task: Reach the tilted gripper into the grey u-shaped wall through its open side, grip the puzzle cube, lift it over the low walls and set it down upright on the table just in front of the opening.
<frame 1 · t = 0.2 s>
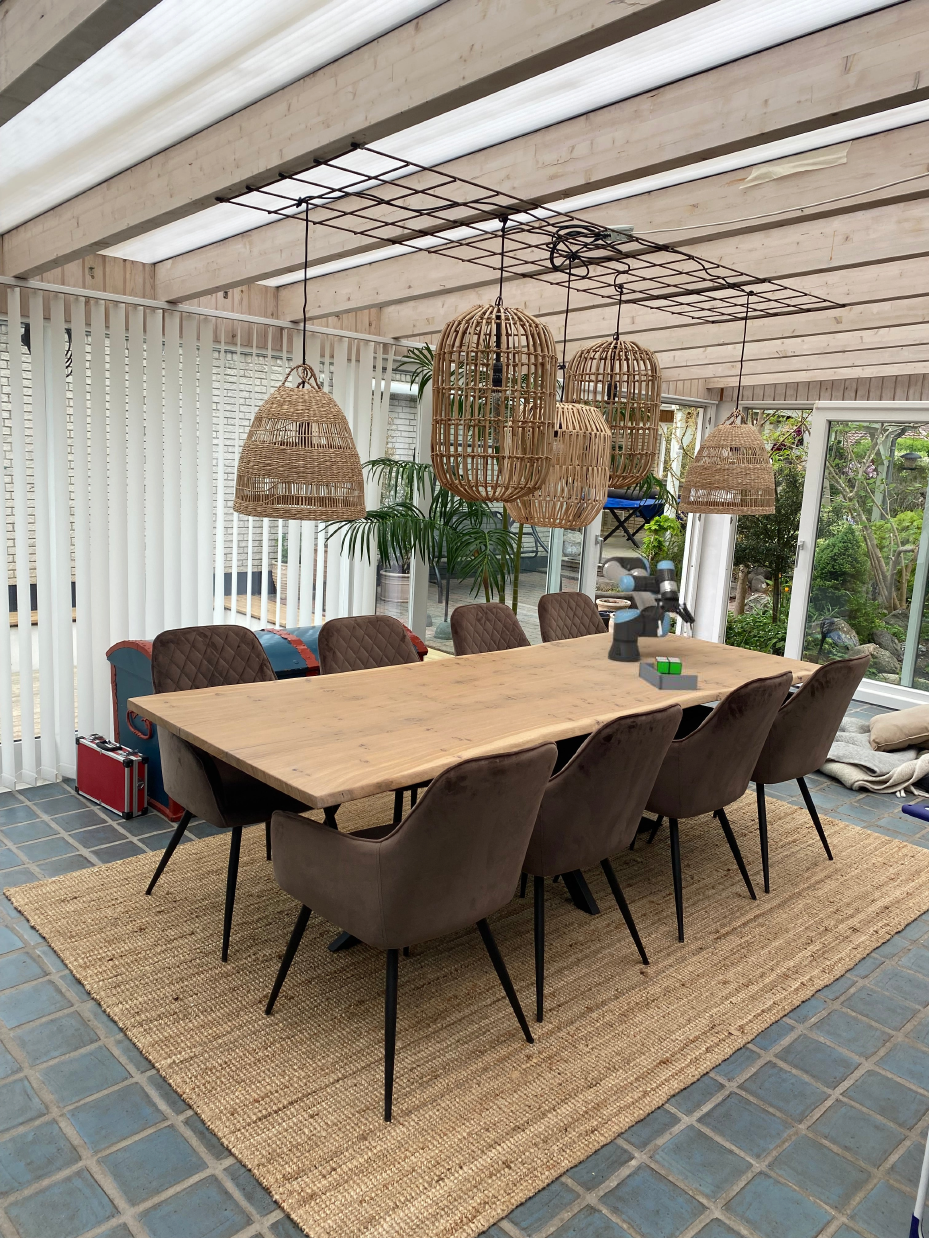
hand: (674, 636, 391), 16 cm above the table, tool tilted 35°, fingers open, 13 cm apart
puzzle cube: (666, 683, 370), on the table
grey u-shaped wall: (666, 682, 370), on the table
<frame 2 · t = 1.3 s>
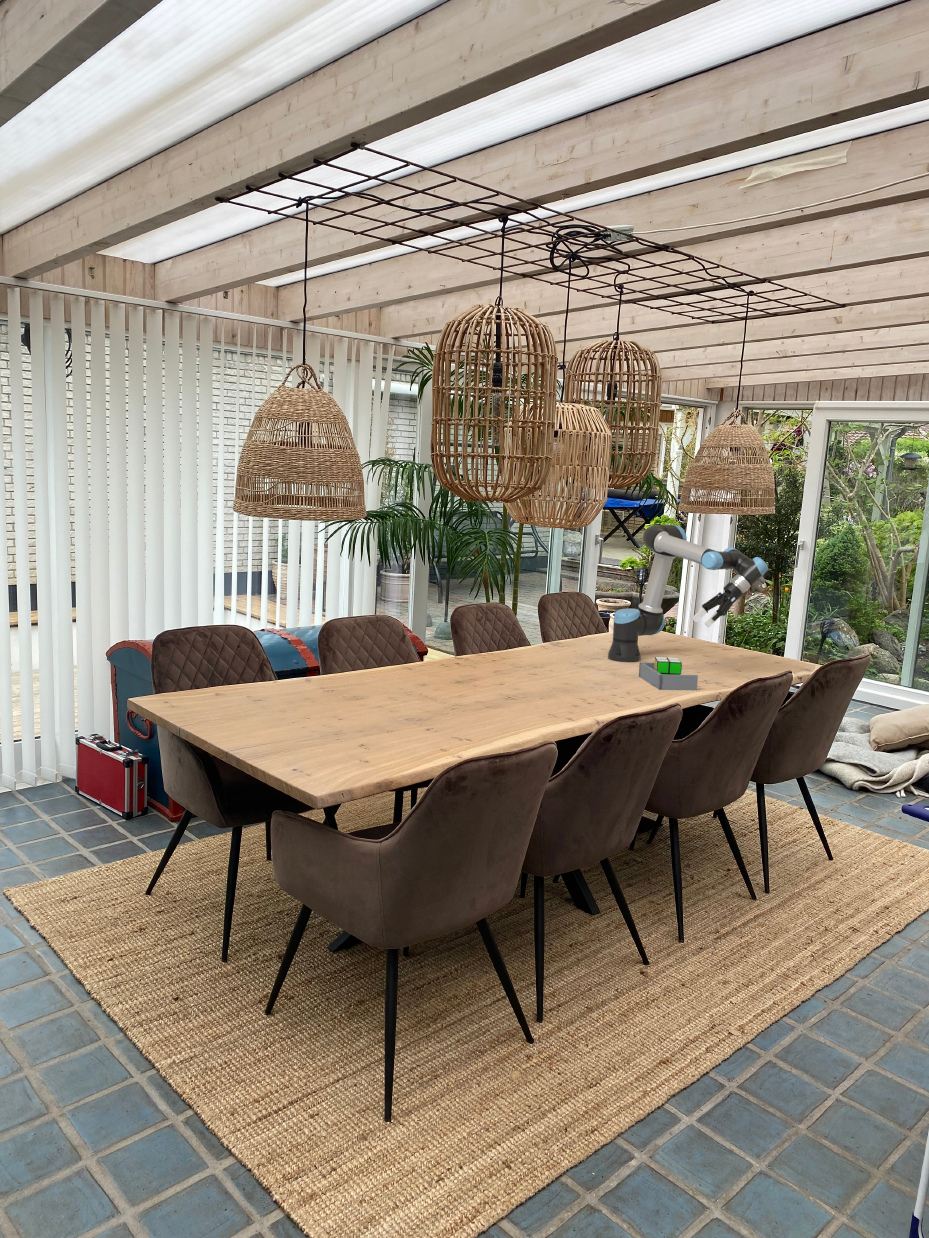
hand: (699, 622, 374), 25 cm above the table, tool tilted 45°, fingers open, 13 cm apart
nothing on the table moved.
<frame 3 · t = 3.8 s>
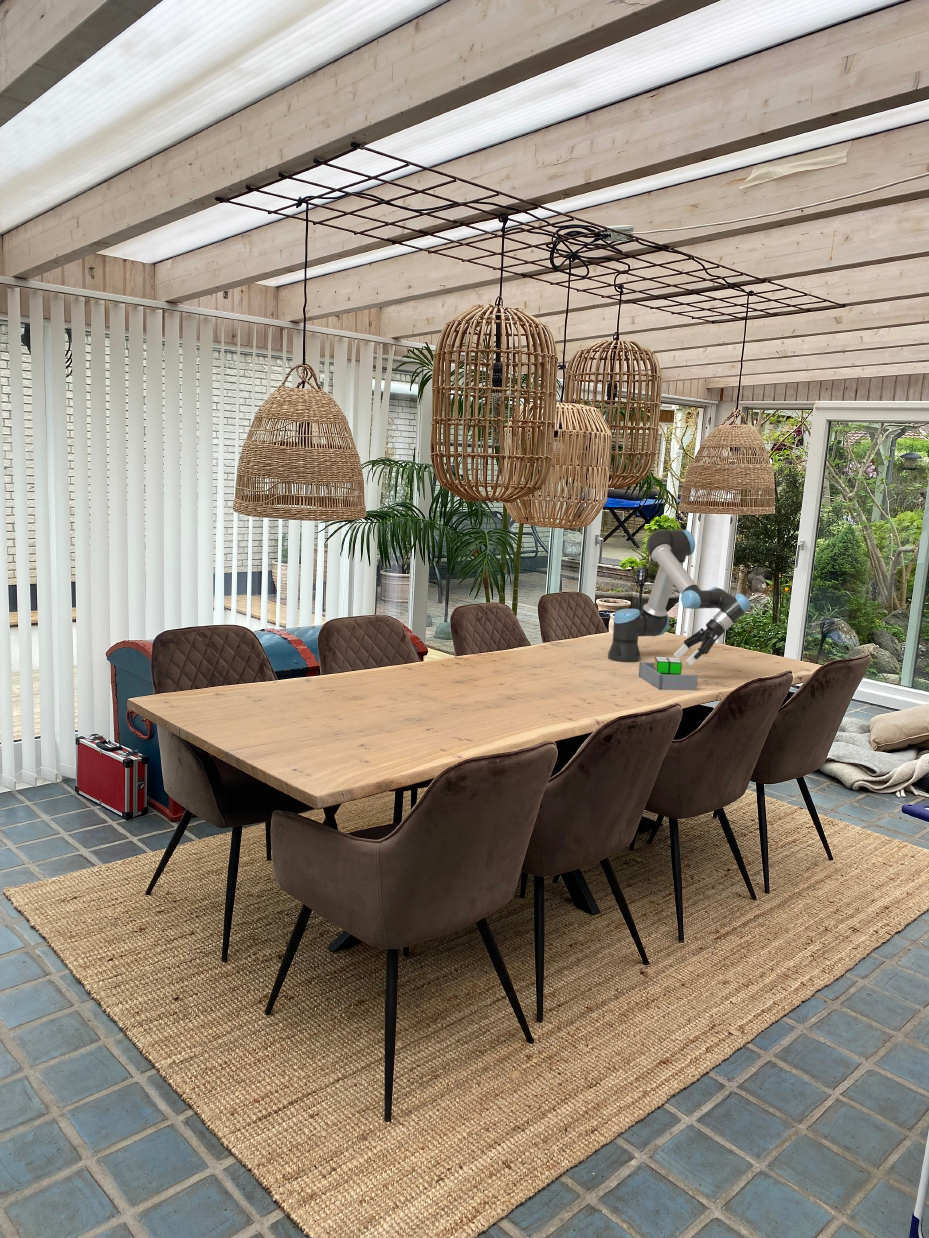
hand: (681, 660, 368), 10 cm above the table, tool tilted 45°, fingers open, 13 cm apart
nothing on the table moved.
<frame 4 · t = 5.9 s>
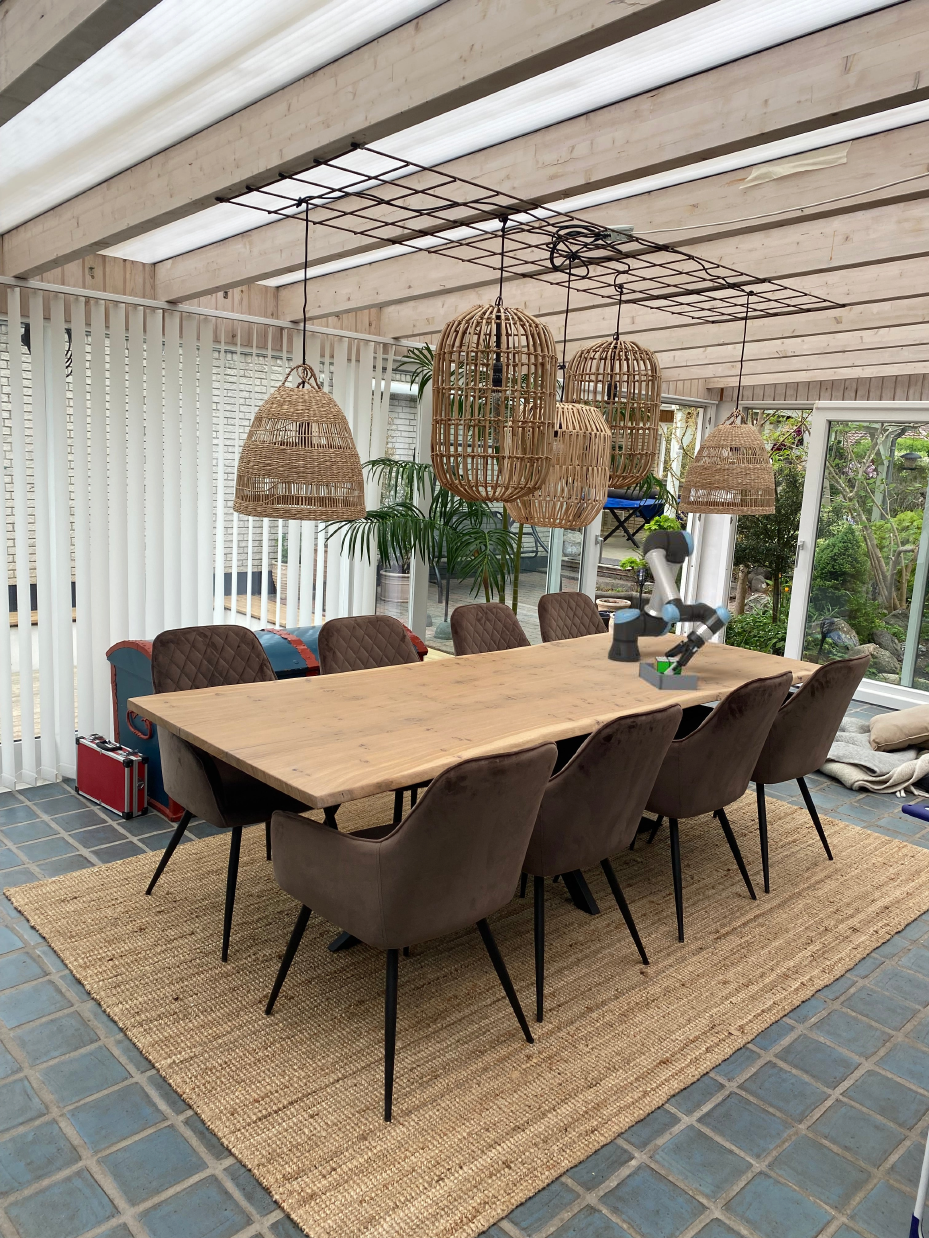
hand: (661, 672, 369), 4 cm above the table, tool tilted 45°, fingers closed on puzzle cube, 12 cm apart
puzzle cube: (666, 683, 370), on the table, touching gripper
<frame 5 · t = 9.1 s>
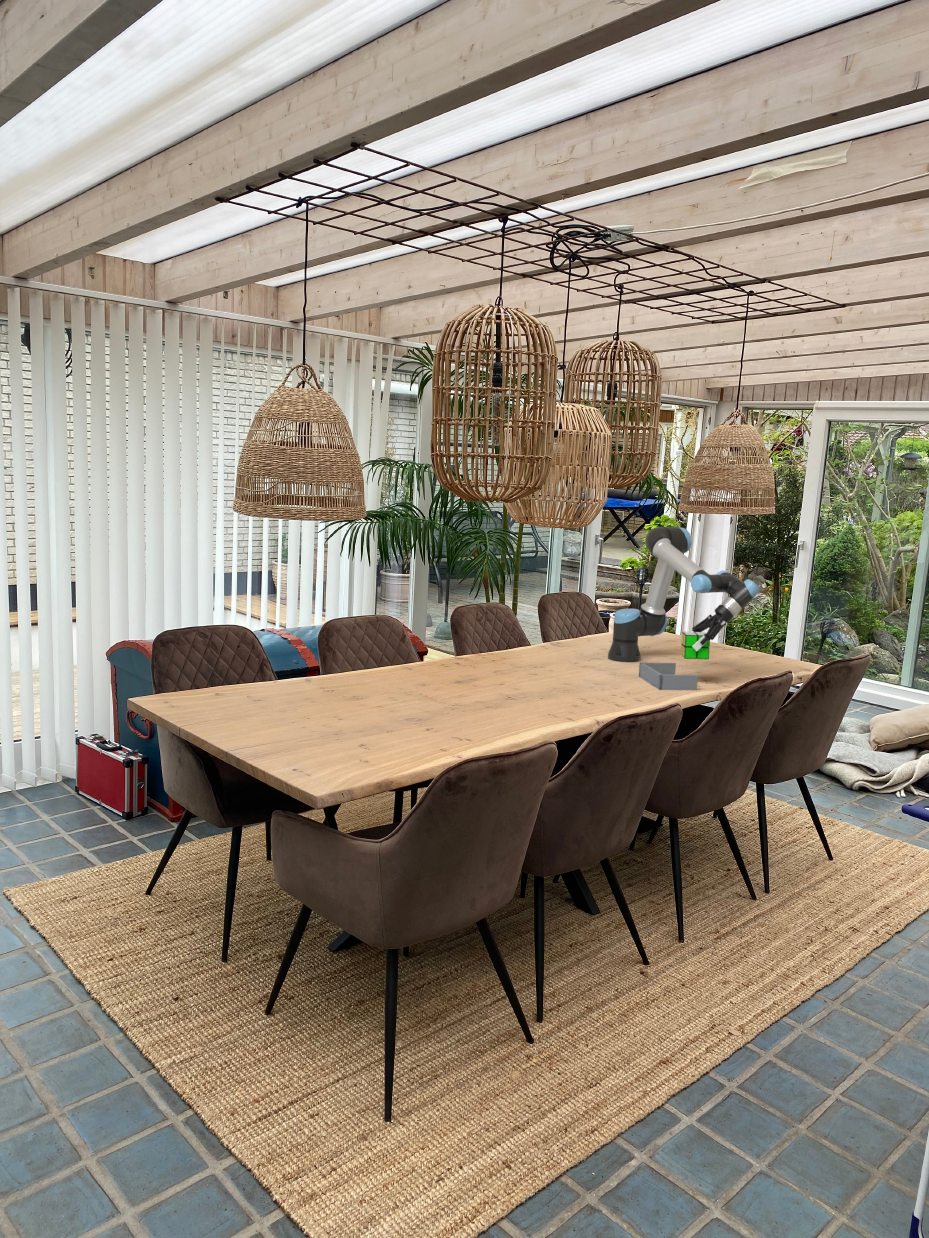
hand: (689, 646, 371), 15 cm above the table, tool tilted 45°, fingers closed on puzzle cube, 11 cm apart
puzzle cube: (694, 657, 372), point 10 cm above the table, touching gripper
when the fingers open (6 cm above the table, at t = 12.4 s): puzzle cube drops 1 cm, on the table.
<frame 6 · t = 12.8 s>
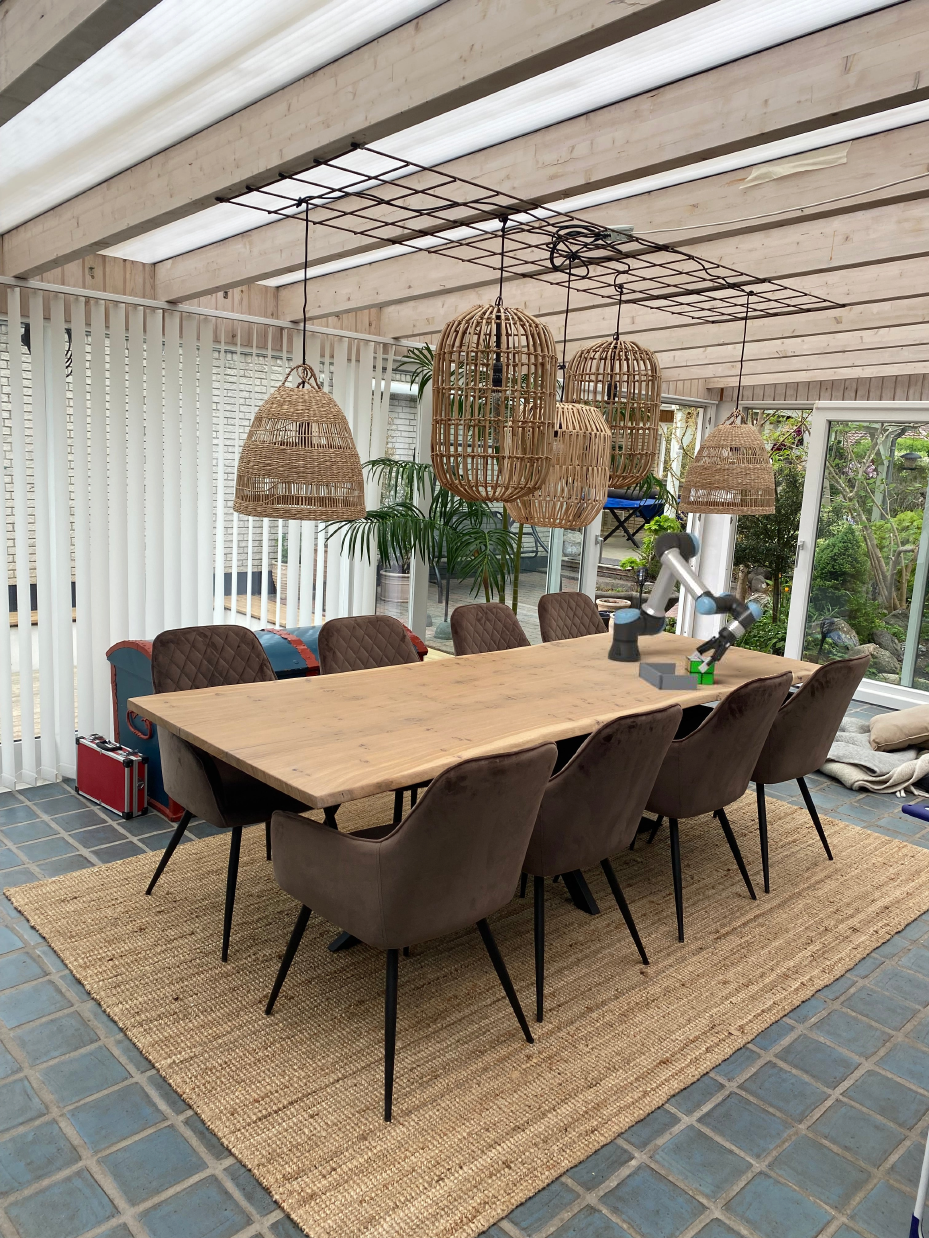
hand: (693, 667, 374), 6 cm above the table, tool tilted 45°, fingers open, 13 cm apart
puzzle cube: (698, 682, 374), on the table
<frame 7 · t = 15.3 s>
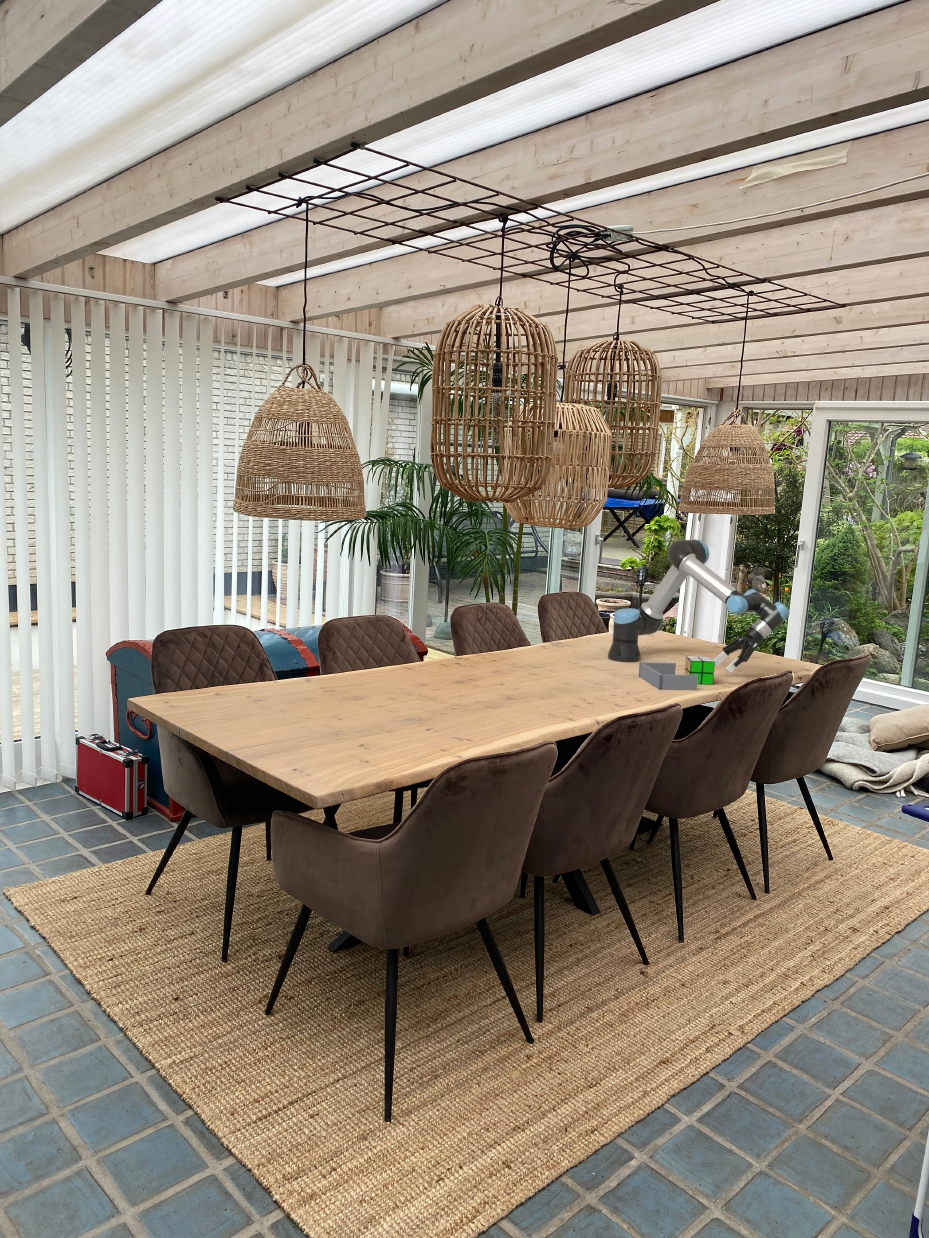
hand: (721, 667, 375), 6 cm above the table, tool tilted 45°, fingers open, 13 cm apart
nothing on the table moved.
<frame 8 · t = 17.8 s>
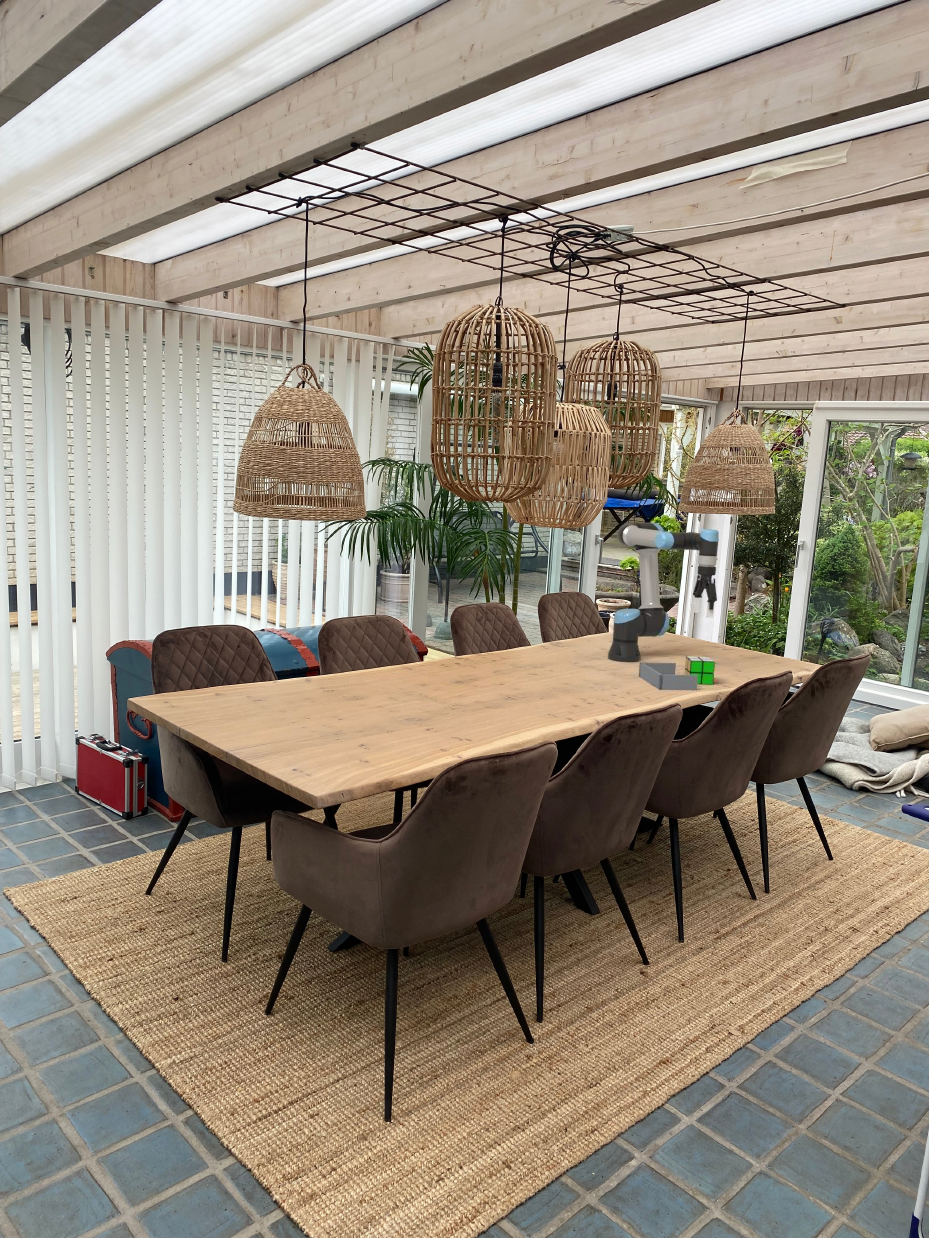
hand: (703, 615, 383), 27 cm above the table, tool pointing down, fingers open, 13 cm apart
nothing on the table moved.
at the end: puzzle cube inside the target area (0.8 cm from its centre), on the table; puzzle cube tilted 0°; the gripper is holding nothing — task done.
